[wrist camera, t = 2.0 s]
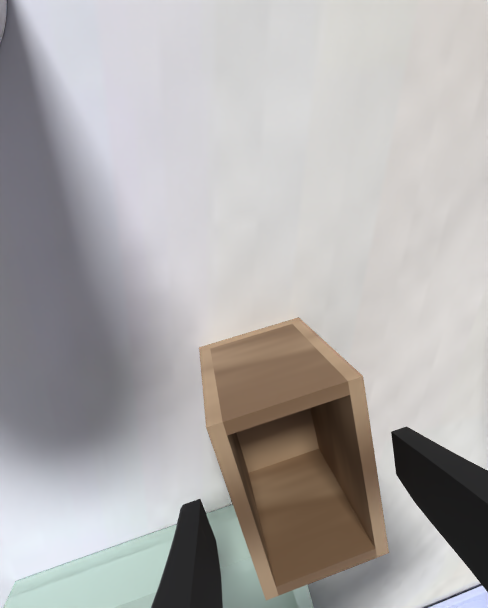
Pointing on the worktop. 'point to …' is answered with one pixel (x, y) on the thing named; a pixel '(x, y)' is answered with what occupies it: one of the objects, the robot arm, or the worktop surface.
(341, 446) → the small crate
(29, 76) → the worktop surface
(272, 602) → the mint green tray
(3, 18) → the coffee cup
